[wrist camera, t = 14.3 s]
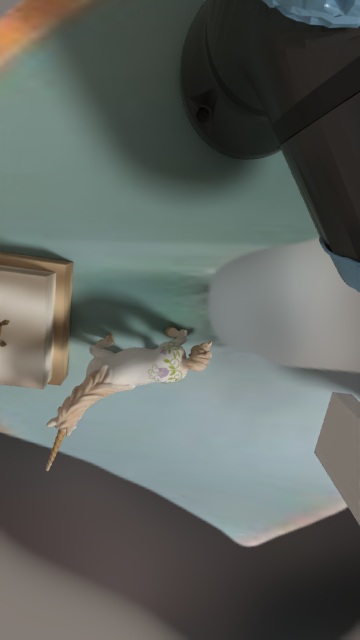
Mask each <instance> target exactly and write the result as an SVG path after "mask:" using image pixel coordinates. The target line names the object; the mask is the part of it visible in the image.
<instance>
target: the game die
mask: <svg viewBox="0 0 360 640" xmlns="http://www.w3.org/2000/svg"><path fill="white" fill-rule="evenodd" d="M9 322H10V321H9V320H4V321H2V322H0V341H1V330H2V326H3V325H4V326H5V325H8V323H9ZM6 345H7V344H6V343H5V342H0V346H1V347H2V346H3V347H4V346H6Z"/></svg>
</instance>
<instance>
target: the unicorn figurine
mask: <svg viewBox="0 0 360 640" xmlns="http://www.w3.org/2000/svg"><path fill="white" fill-rule="evenodd" d="M166 335H167V336H170V337H176V339H175V340H170V341H168V342H164V343H163V344H161V345H160V346H159V347H158V348H157V349H147V348H129V349H125V350H122V351H120V352H118V353H116V354H115V353H114V352H113V351H107V350H104V349H101V348H105V347H110V346H111V345H112V344H114V338H113V335H112V334H109V335H107V336H106V337H105V338H104V339H101V340H99V341H98V343H97V344H96V345H94V346H92V347H90V353H91V354H92V355H93V356H94V357H95V358H93V359H92V360H91V362H90V363H89V365H88V368H87V371H86V378H85V380H84V381H83V383H82V384H81V385H80V386H76V387H75V388H74V389H73V391H72V394H71V397H67V398H66V400H65V401H64V403H63V405H62V407H59V408H58V416H57V417H56V418H53V419H51V420H50V421H49V422H48V423H47V427H51V426H54V425H55V427H56V428H57V429H59V430H58V433H57V436H56V439H55V442H54V446H53V448H52V452H51V454H50V458H49V460H48V463H47V467H46V470H47V471H48V470H49V469H50V466H51V465H52V462H53V460H54V458H55V456H56V453H57V451H58V448H59V446H60V444H61V441H62V440H63V437H64V435H65V433H66V436H67V437H68V436H69V435H70V434H71V432H72V430H74V429H75V428H76V427H77V421H78V420H79V419H80V418H81V417H82V415H83V413H84V412H85V411H86V409H88V408H89V407H90V406H91V405H92V404H94V403H95V402H96V401H98V400H99V399H102V398H103V397H105V396H108V395H112V394H113V393H115V392H118V391H126V390H130V389H134V388H135V386H136V385H144V384H149V383H153V382H161V383H171V382H176V381H179V380H181V379H182V378H184V377H185V375H186V374H187V371H188V369H191V370H194V371H201V370H203V369H205V368H206V365H207V364H208V363H209V358H211V357H212V354H211V353H210V352H209V351H210V346H211V344H212V341H210V342H209V343H203V344H200V345H196V346H193V348H192V349H191V353H190V354H189V356H190V357H189V358H186V353H185V351H184V349H183V348H182V347H181V346H180V345H182V344H183V343H185V341H186V339H185V337H186V336H187V331H186V330H183V329H181V330H180V331H177V329H176V328H174V327H169V328H168V329H167V330H166Z"/></svg>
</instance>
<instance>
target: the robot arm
mask: <svg viewBox="0 0 360 640" xmlns="http://www.w3.org/2000/svg"><path fill="white" fill-rule="evenodd" d="M180 88H181V95H182V101H183V105H184V108H185V111H186V114H187V116H188V118H189V120H190V122H191V124H192V126H193V127H194V129H195V130H196V132H197V133H198V134H199V136H200V137H201V138H202V139H203V140H204V141H205V142H206V143H207V144H208V145H210V146H211V147H212V148H214V149H215V150H217V151H218V152H220V153H222V154H225V155H227V156H230V157H233V158H238V159H259V158H263V157H267V156H270V155H272V154H275V153H277V152H279V151H281V150H282V152H283V155H284V157H285V159H286V161H287V164H288V166H289V168H290V170H291V173H292V175H293V177H294V179H295V182H296V184H297V186H298V188H299V191H300V193H301V195H302V197H303V200H304V202H305V204H306V206H307V209H308V211H309V213H310V215H311V218H312V220H313V222H314V224H315V227H316V229H317V231H318V233H319V236H320V238H319V241H320V244H321V246H322V248H323V249H324V251H325V252H326V253H328V254H329V255H330V257H331V259H332V261H333V263H334V265H335V267H336V268H337V270H338V272H339V274H340V276H341V278H342V279H343V280H344V282H345V283H346V284H347V285H348V286H350V287H352V288H354V289H356V290H357V291H358V292H360V0H207V1H206V2H205V3H204V4H203V6H202V7H201V8H200V10H199V11H198V13H197V14H196V16H195V18H194V20H193V22H192V24H191V26H190V28H189V31H188V33H187V36H186V39H185V43H184V47H183V51H182V58H181V69H180ZM314 453H315V454H316V456H317V458H318V459H319V461H320V462H321V464H322V466H323V467H324V469H325V470H326V472H327V474H328V475H329V477H330V478H331V480H332V482H333V483H334V485H335V486H336V488H337V490H338V491H339V493H340V494H341V496H342V498H343V499H344V501H345V502H346V504H347V506H348V507H349V509H350V510H351V512H352V513H353V515H354V517H355V518H356V520H357V521H358V523H359V525H360V402H359V401H358V400H357V399H356V398H355V397H354V396H353V395H352V394H343V393H335V392H333V393H332V396H331V399H330V402H329V406H328V409H327V412H326V415H325V418H324V422H323V425H322V428H321V431H320V435H319V438H318V441H317V444H316V448H315V451H314Z"/></svg>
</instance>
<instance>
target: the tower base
mask: <svg viewBox="0 0 360 640" xmlns="http://www.w3.org/2000/svg"><path fill="white" fill-rule="evenodd" d="M72 279H73V262H70V261H63V260H55V259H48V258H41V257H34V256H27V255H19V254H12V253H5V252H0V322H2V321H4V320H9V321H10V322H9V323H8V325H5V326H4V325H3V326H2V330H1V341H0V342H5V343H6V344H7V345H6V346H4V347H3V346H2V347H1V346H0V384H1V385H10V386H19V387H27V388H36V389H44V387H45V386H46V385H47V384H51V385H61V384H62V382H63V381H64V379H65V378H66V377H67V375H68V359H69V339H70V319H71V299H72Z"/></svg>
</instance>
